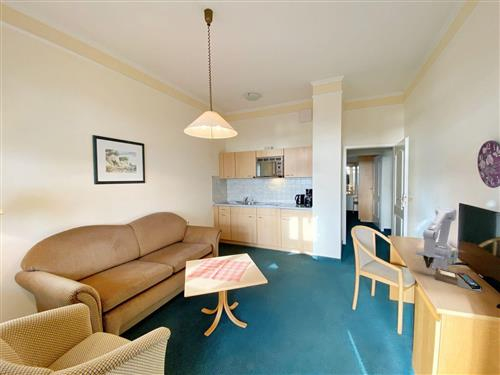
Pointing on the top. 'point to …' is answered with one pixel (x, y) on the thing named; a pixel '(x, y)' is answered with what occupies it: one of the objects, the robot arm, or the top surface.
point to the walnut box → (446, 277)
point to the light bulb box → (453, 256)
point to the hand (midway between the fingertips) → (427, 267)
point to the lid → (445, 272)
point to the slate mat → (466, 285)
